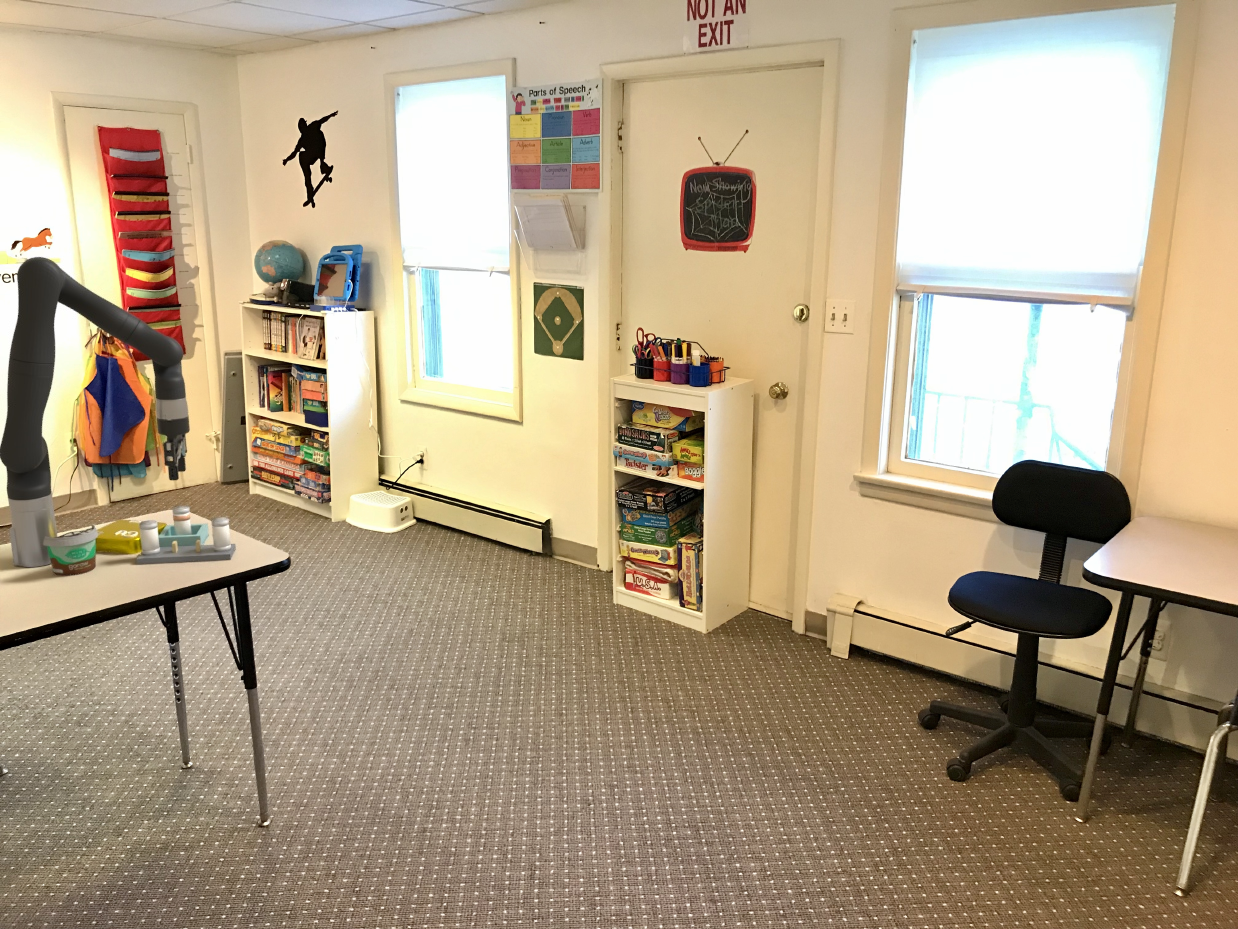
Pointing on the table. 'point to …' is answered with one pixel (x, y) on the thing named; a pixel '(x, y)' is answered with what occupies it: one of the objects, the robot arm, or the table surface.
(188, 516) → the marked fuse
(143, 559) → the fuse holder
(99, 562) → the table surface
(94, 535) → the food container
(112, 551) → the element tile
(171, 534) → the tray
